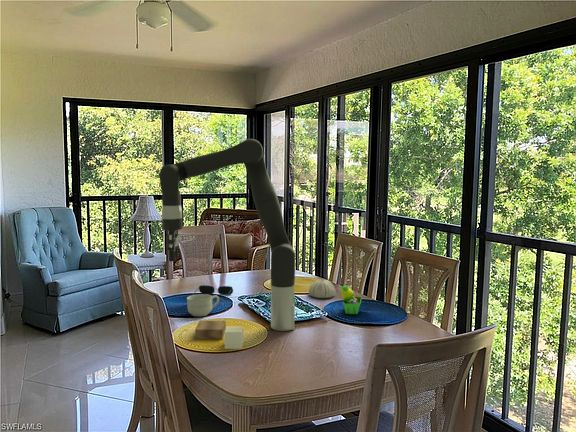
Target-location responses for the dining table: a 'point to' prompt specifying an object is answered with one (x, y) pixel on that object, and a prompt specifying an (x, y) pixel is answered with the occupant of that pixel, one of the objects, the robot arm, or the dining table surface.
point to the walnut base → (210, 330)
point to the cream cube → (233, 337)
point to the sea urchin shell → (322, 289)
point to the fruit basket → (350, 301)
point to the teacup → (201, 304)
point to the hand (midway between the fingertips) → (173, 259)
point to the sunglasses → (210, 290)
